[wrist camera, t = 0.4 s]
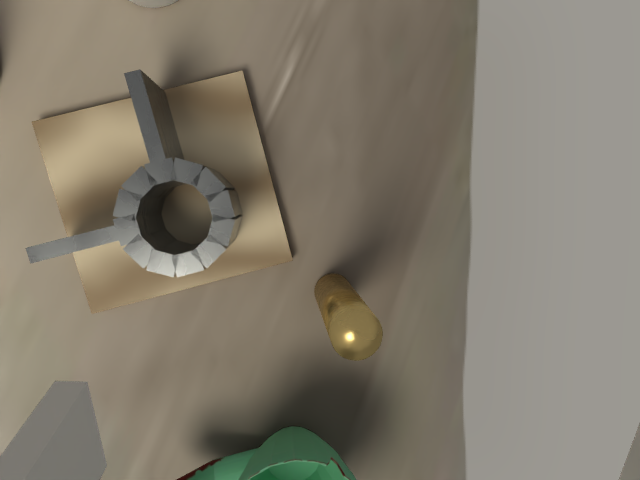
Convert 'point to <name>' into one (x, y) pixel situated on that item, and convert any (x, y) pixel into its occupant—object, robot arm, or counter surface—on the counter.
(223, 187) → the grey piece
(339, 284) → the hinge pin
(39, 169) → the counter surface
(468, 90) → the counter surface
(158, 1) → the bath foam
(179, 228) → the mounting board
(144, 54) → the counter surface
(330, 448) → the mug
